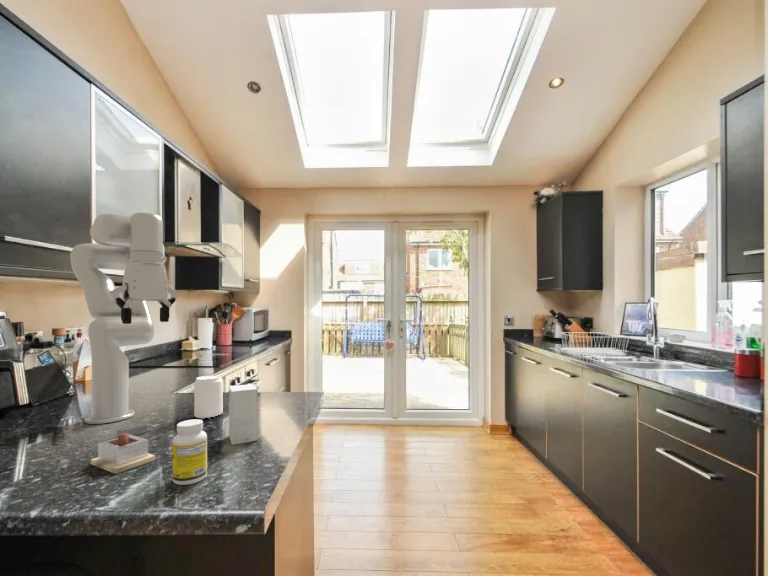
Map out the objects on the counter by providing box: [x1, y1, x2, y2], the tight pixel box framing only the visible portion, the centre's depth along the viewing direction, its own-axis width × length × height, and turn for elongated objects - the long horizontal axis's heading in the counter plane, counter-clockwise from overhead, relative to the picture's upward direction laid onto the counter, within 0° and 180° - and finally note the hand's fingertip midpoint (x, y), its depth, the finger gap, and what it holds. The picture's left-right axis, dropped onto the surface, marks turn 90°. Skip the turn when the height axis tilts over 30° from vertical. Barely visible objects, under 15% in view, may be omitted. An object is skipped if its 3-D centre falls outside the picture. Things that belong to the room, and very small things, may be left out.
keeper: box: [89, 433, 156, 475], centre depth 86 cm, size 11×8×6 cm
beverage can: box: [193, 374, 224, 420], centre depth 122 cm, size 8×8×12 cm
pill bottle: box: [172, 418, 208, 486], centre depth 77 cm, size 6×6×11 cm
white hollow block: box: [97, 434, 149, 466], centre depth 86 cm, size 8×6×4 cm
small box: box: [228, 383, 259, 446], centre depth 100 cm, size 8×6×13 cm
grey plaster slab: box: [116, 422, 148, 438], centre depth 105 cm, size 3×6×2 cm, turn 149°
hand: (146, 322), depth 104 cm, fingers open, 9 cm apart
